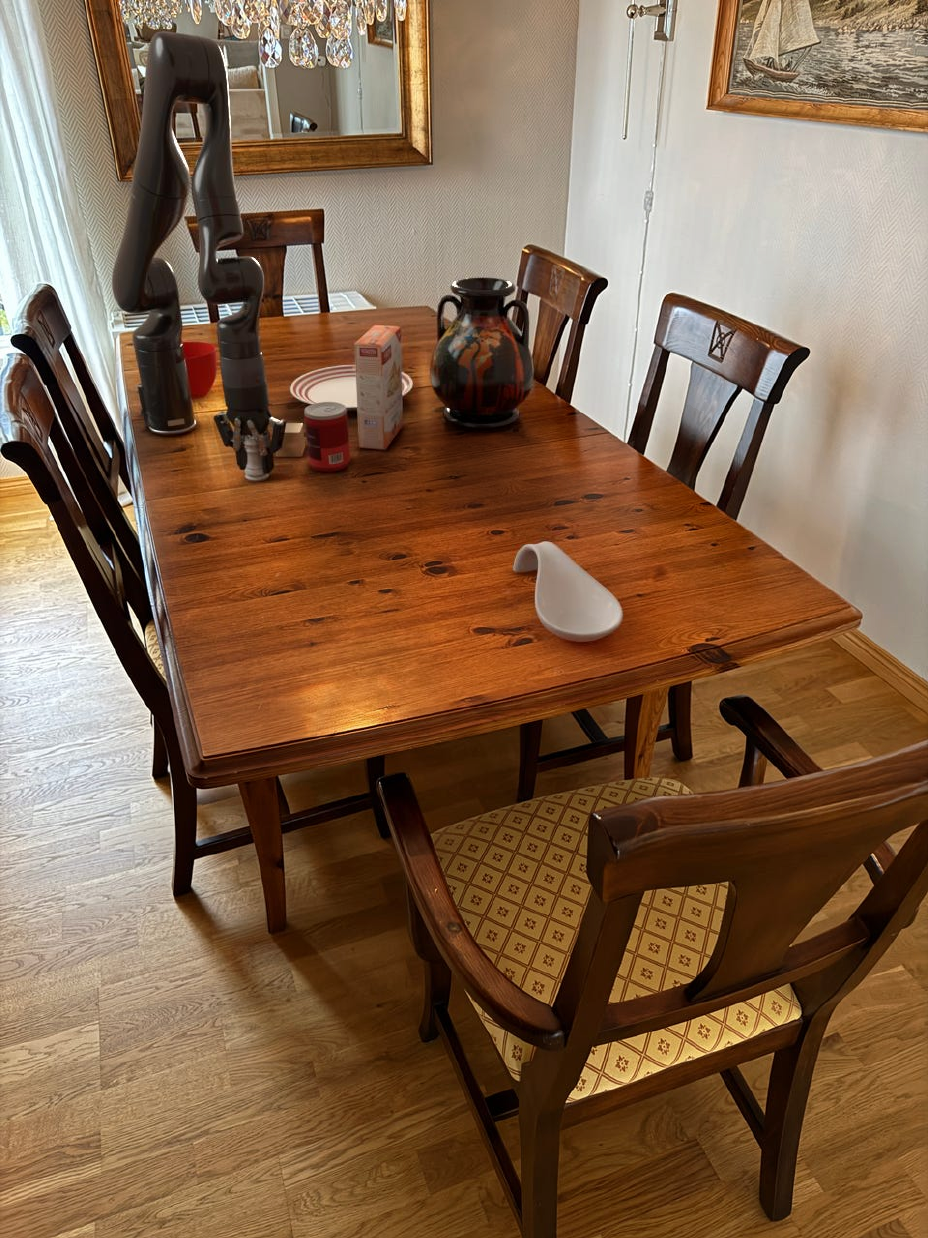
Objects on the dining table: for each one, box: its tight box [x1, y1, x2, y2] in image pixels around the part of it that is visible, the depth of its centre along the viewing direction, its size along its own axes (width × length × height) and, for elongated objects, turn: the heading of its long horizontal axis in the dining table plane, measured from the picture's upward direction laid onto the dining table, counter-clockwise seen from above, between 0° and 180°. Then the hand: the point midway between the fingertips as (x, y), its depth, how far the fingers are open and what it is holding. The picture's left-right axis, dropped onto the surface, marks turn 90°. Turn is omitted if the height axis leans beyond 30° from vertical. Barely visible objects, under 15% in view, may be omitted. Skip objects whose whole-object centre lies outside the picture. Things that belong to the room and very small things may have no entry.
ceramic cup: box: [182, 341, 218, 399], centre depth 204 cm, size 13×17×10 cm
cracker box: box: [353, 324, 404, 451], centre depth 177 cm, size 14×6×21 cm, turn 168°
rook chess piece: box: [243, 435, 270, 483], centre depth 164 cm, size 4×4×8 cm
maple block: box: [275, 422, 306, 458], centre depth 175 cm, size 5×5×5 cm
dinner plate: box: [289, 364, 414, 412], centre depth 202 cm, size 27×27×3 cm
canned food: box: [303, 402, 351, 473], centre depth 168 cm, size 8×8×11 cm
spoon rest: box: [512, 541, 624, 643], centre depth 126 cm, size 24×12×7 cm, turn 21°
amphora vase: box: [429, 276, 535, 433], centre depth 184 cm, size 22×22×28 cm
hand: (256, 469), depth 165 cm, fingers closed on rook chess piece, 4 cm apart
